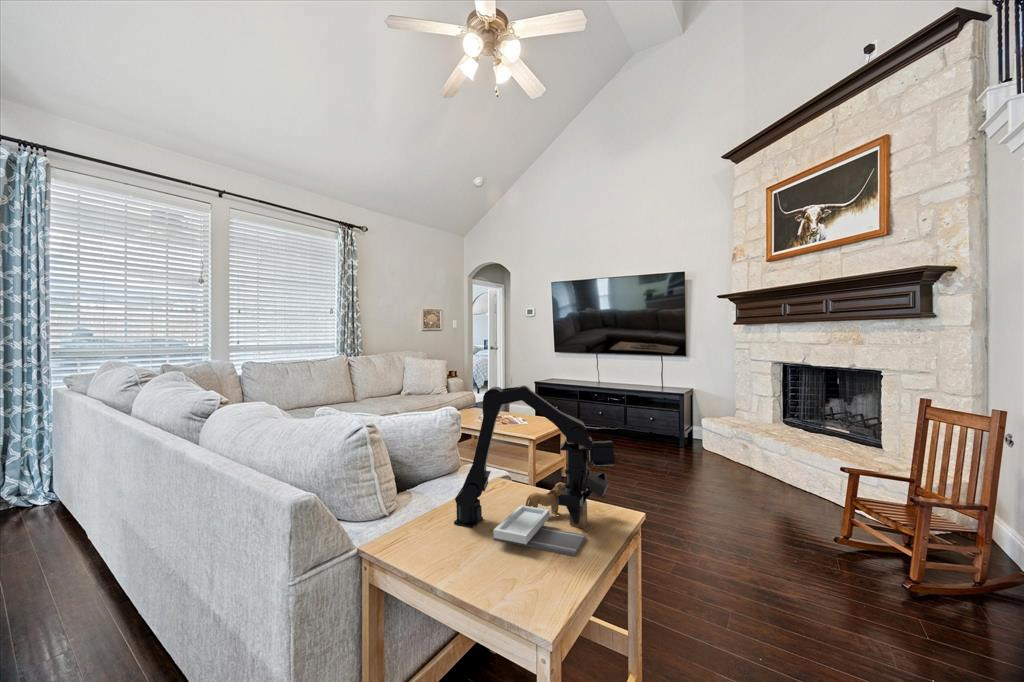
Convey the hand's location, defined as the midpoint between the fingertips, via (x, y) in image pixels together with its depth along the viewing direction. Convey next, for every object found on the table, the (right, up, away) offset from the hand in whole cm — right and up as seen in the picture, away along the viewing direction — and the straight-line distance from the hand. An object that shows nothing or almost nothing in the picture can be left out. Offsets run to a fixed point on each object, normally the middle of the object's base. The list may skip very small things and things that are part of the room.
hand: (578, 520), depth 116 cm
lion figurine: (-9, -2, +7) cm, 11 cm away
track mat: (-12, -1, -8) cm, 14 cm away
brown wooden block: (0, -1, 0) cm, 1 cm away
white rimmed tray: (-16, -1, -6) cm, 17 cm away
